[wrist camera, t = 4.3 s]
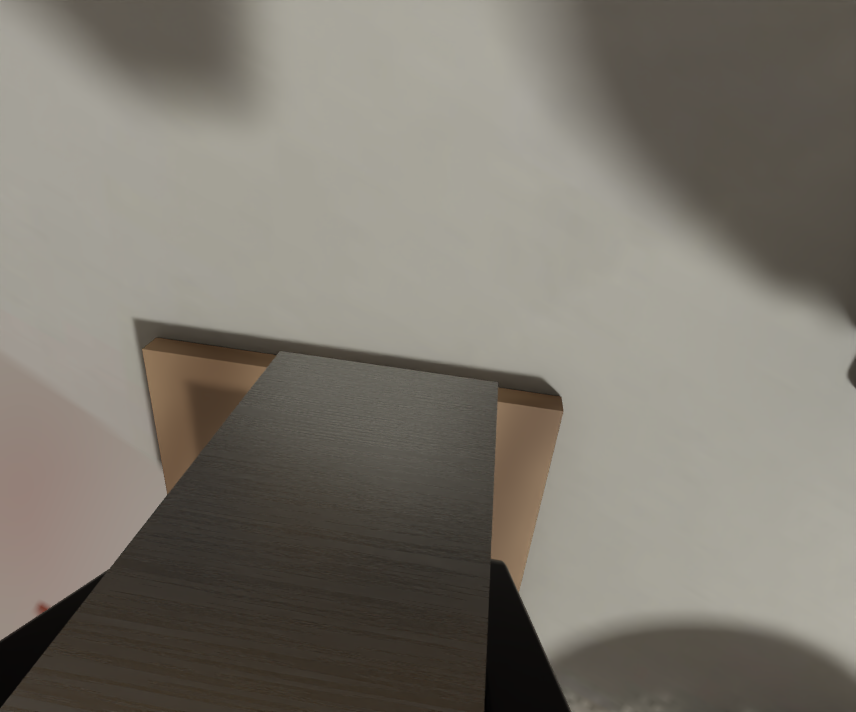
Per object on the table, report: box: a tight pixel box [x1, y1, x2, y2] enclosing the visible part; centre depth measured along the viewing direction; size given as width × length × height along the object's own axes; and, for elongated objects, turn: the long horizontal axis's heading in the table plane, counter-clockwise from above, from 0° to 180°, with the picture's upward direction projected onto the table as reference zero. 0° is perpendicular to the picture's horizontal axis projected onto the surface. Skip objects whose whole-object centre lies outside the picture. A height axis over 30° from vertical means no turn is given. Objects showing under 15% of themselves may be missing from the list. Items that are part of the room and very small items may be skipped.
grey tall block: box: [0, 351, 498, 712], centre depth 7 cm, size 4×4×9 cm
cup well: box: [142, 338, 563, 592], centre depth 24 cm, size 16×14×4 cm
